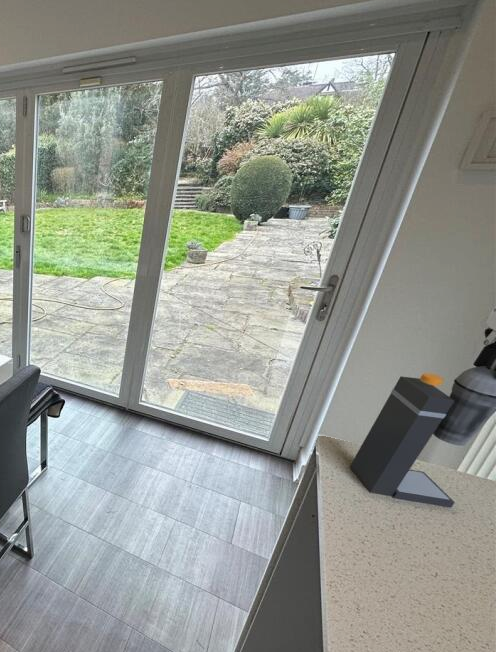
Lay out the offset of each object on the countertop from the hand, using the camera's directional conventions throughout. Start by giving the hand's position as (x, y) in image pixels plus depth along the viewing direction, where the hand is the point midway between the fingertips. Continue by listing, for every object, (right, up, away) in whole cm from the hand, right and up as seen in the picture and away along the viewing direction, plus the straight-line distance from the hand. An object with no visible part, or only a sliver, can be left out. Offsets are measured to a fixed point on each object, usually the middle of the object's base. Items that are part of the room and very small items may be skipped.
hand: (495, 372), depth 73 cm
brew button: (-7, -2, +4) cm, 9 cm away
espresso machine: (-3, -25, +15) cm, 29 cm away
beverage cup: (-1, -13, +7) cm, 15 cm away
